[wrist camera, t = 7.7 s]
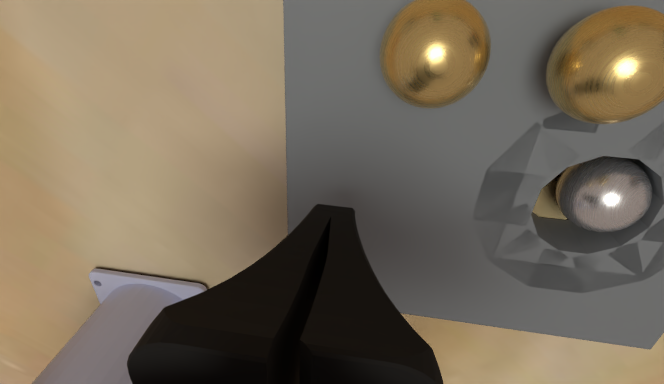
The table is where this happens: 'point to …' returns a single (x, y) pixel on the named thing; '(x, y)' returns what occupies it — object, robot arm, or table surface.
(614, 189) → the ball
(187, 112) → the table surface
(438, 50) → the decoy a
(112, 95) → the table surface
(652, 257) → the plate
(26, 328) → the table surface
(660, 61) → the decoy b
